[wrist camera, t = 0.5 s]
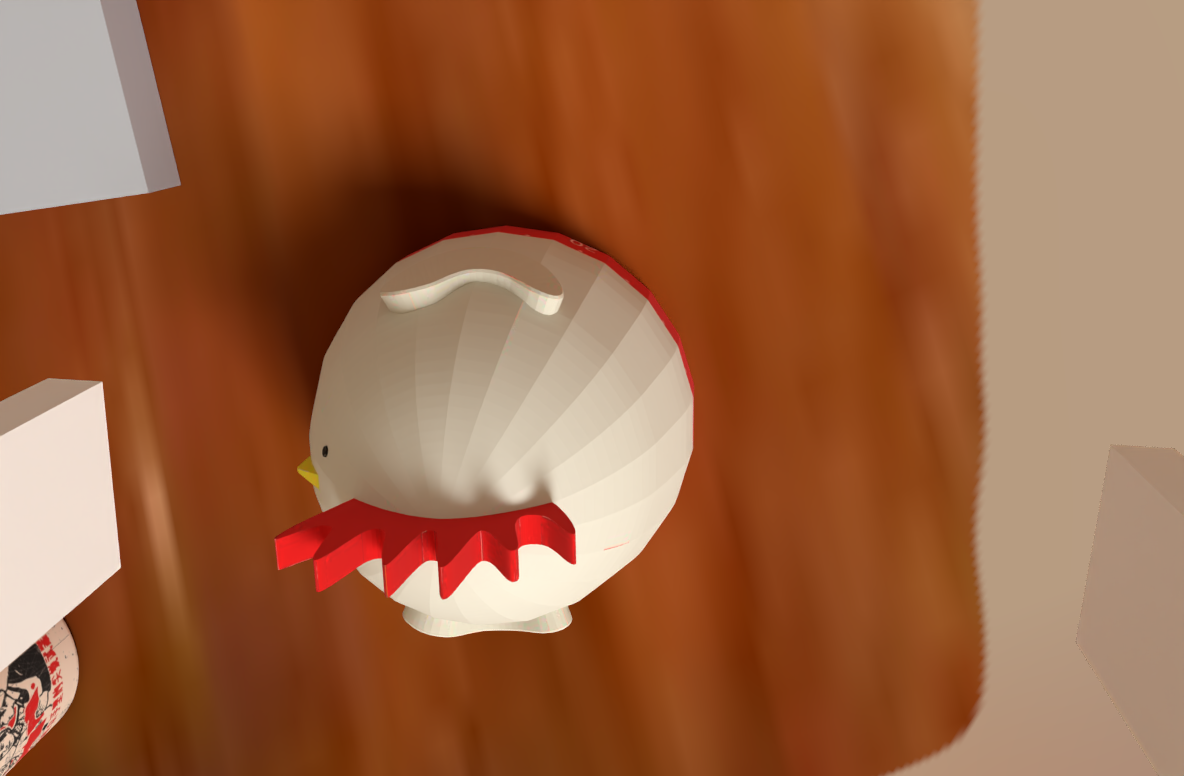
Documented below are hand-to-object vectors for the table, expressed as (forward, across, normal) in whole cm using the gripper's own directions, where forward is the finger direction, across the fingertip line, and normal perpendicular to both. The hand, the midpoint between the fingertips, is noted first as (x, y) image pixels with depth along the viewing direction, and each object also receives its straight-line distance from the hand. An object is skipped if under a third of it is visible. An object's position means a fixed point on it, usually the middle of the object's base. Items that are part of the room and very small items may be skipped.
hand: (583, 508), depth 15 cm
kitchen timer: (+27, -6, -7) cm, 29 cm away
